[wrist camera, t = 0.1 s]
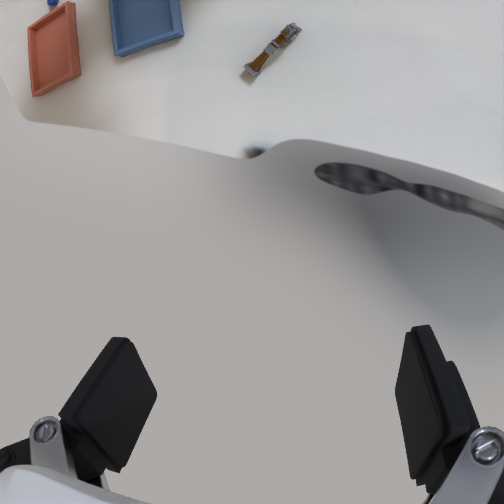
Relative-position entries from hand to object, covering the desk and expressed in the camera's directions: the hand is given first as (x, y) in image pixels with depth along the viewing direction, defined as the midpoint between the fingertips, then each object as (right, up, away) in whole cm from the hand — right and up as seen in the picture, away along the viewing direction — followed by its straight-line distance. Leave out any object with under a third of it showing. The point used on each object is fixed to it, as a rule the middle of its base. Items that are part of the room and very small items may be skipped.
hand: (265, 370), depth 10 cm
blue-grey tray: (-14, +36, +20) cm, 44 cm away
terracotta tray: (-30, +35, +23) cm, 52 cm away
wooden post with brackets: (+2, +28, +22) cm, 35 cm away
